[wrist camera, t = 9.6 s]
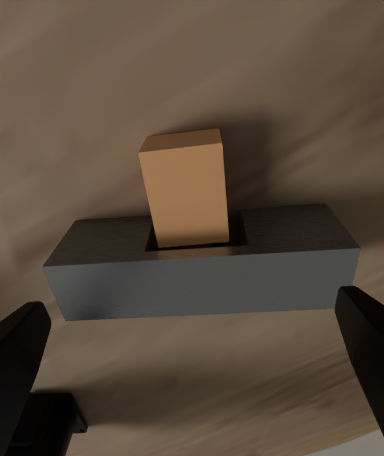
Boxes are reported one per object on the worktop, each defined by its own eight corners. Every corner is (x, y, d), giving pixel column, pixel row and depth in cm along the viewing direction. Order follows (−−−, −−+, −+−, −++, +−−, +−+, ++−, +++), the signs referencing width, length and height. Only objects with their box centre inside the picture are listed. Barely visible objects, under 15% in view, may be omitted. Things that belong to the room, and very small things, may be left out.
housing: (318, 256, 21) (346, 307, 17) (90, 269, 22) (65, 320, 18) (326, 203, 19) (360, 248, 15) (74, 221, 20) (42, 266, 16)
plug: (229, 271, 22) (233, 301, 19) (174, 275, 22) (170, 305, 20) (218, 128, 17) (222, 142, 14) (147, 136, 17) (138, 152, 15)
